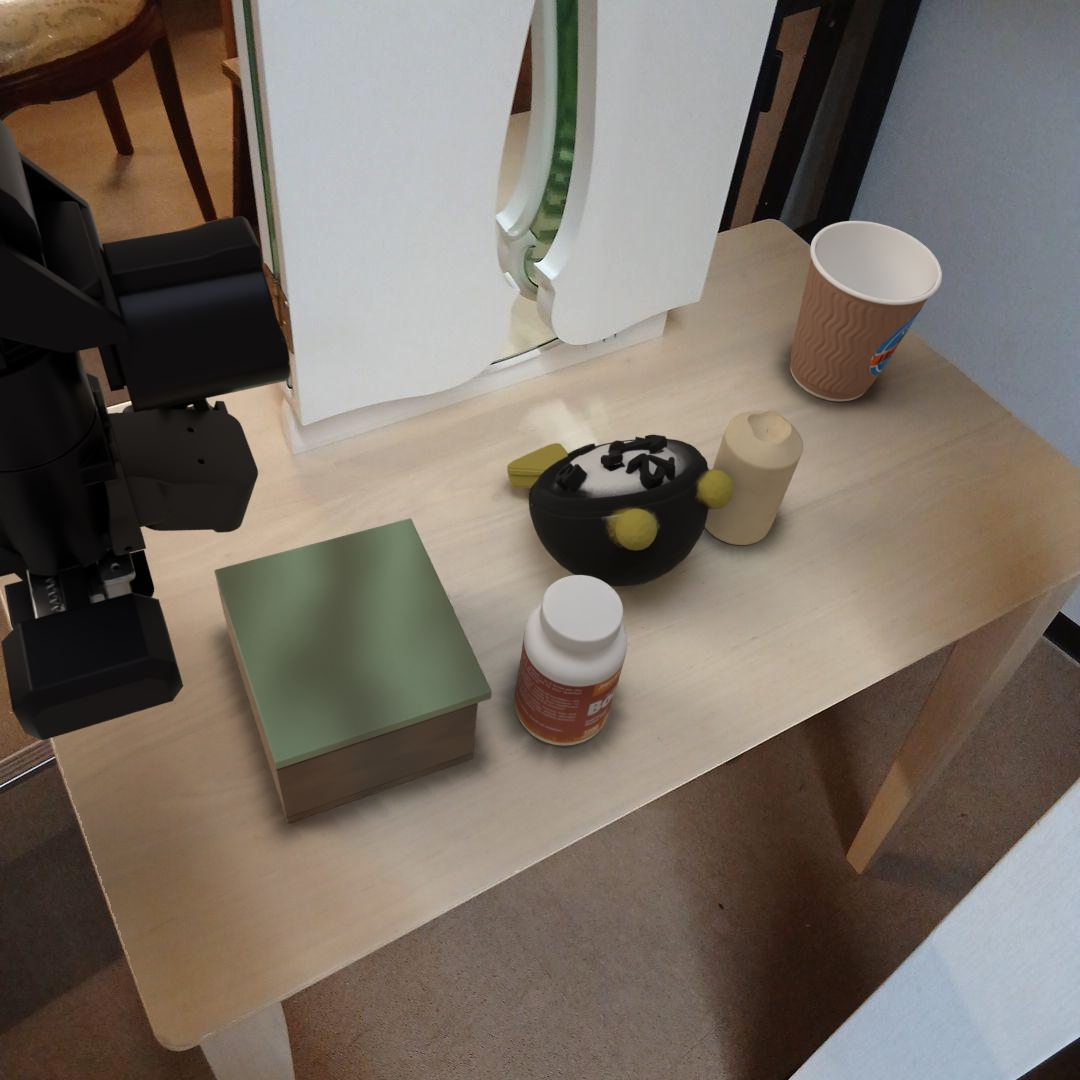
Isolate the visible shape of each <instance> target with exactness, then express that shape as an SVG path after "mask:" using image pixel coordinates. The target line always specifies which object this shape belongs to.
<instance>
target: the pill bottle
mask: <svg viewBox="0 0 1080 1080" xmlns="http://www.w3.org/2000/svg"><path fill="white" fill-rule="evenodd" d="M623 619H624V605H623V602H622V599H621V597H620V595H619V594H618V593H617V591H616V590H615V589H614V588H613V587H611V586H609V585H608V584H607V583H605V582H603V581H601V580H599V579H597V578H594V577H591V576H585V575H574V574H572V575H568V576H564V577H562V578H560V579H557V580H556V581H554V582H552V584H550V586H549V587H548V588H547V589H546V591H545V592H544V595H543V597H542V601H541V603H540V604H538V605H537V607H536V608H535V609H534V610H533V611H532V612H531V613H530V615H529V617H528V619H527V621H526V624H525V627H524V633H523V638H522V645H521V651H520V659H519V665H518V669H517V670H518V671H517V676H516V677H517V678H516V684H515V689H514V708H515V713H516V715H517V717H518V720H519V721H520V723H521V724H522V726H523V727H524V729H526V731H528V733H529V734H531V735H532V736H533V737H535V738H536V739H537V740H540V741H542V742H544V743H547V744H551V745H555V746H573V745H574V746H575V745H578V744H582V743H584V742H586V741H589V740H590V739H592V738H593V737H595V735H597V734H598V733H599V732H600V731H601V730H602V728H603V727H604V725H605V723H606V722H607V720H608V716H609V715H610V711H611V708H612V704H613V700H614V697H615V694H616V690H617V688H618V684H619V680H620V678H621V674H622V669H623V665H624V663H625V659H626V655H627V651H628V635H627V631H626V627H625V625H624V622H623Z"/></svg>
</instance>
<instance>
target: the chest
mask: <svg viewBox="0 0 1080 1080" xmlns="http://www.w3.org/2000/svg"><path fill="white" fill-rule="evenodd" d="M215 581H216V585H217V589H218V593H219V598H220V602H221V606H222V611H223V615H224V620H225V624H226V627H227V628H226V629H227V632H228V637H229V641H230V645H231V647H232V650H233V654H234V657H235V661H236V664H237V667H238V671H239V673H240V676H241V680H242V682H243V686H244V689H245V693H246V696H247V698H248V701H249V705H250V708H251V711H252V714H253V715H252V716H253V718H254V721H255V725H256V728H257V731H258V734H259V737H260V741H261V743H262V747H263V750H264V753H265V757H266V759H267V762H268V763H267V764H268V766H269V769H270V772H271V776H272V779H273V783H274V785H275V788H276V791H277V795H278V797H279V801H280V804H281V807H282V810H283V814H284V817H285V820H286V823H287V824H290V823H293V822H296V821H299V820H302V819H305V818H307V817H310V816H312V815H316V814H319V813H322V812H324V811H327V810H330V809H332V808H337V807H339V806H341V805H344V804H347V803H350V802H353V801H356V800H359V799H361V798H364V797H367V796H370V795H373V794H376V793H378V792H382V791H384V790H387V789H389V788H393V787H395V786H398V785H401V784H404V783H408V782H410V781H412V780H416V779H419V778H421V777H424V776H427V775H430V774H433V773H435V772H438V771H442V770H445V769H447V768H450V767H453V766H455V765H459V764H461V763H464V762H466V761H470V760H472V759H473V756H474V744H475V737H476V726H477V716H478V707H479V703H476V704H473V705H470V706H467V707H464V708H461V709H458V710H455V711H452V712H449V713H446V714H443V715H440V716H437V717H434V718H431V719H428V720H425V721H422V722H419V723H415V724H412V725H409V726H406V727H403V728H400V729H397V730H394V731H391V732H388V733H385V734H382V735H379V736H376V737H373V738H370V739H367V740H364V741H361V742H358V743H355V744H352V745H349V746H346V747H343V748H340V749H337V750H334V751H331V752H328V753H325V754H322V755H319V756H316V757H313V758H310V759H307V760H304V761H301V762H298V763H295V764H292V765H289V766H285V767H282V768H279V769H277V768H276V767H275V763H274V760H273V757H272V754H271V751H270V748H269V744H268V741H267V738H266V735H265V732H264V729H263V725H262V722H261V719H260V716H259V713H258V710H257V706H256V703H255V700H254V697H253V694H252V691H251V687H250V684H249V681H248V678H247V675H246V672H245V669H244V665H243V662H242V659H241V656H240V653H239V650H238V646H237V643H236V640H235V637H234V634H233V631H232V627H231V624H230V621H229V618H228V615H227V612H226V608H225V605H224V602H223V599H222V596H221V593H220V589H219V586H218V583H217V580H216V579H215Z"/></svg>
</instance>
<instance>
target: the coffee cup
mask: <svg viewBox="0 0 1080 1080" xmlns="http://www.w3.org/2000/svg"><path fill="white" fill-rule="evenodd" d="M809 250H810V262H809V266H808V270H807V276H806V280H805V285H804V291H803V295H802V298H801V304H800V309H799V313H798V318H797V323H796V327H795V331H794V337H793V341H792V345H791V350H790V364H789V370H790V372H791V375H792V378H793V380H794V381H795V382H796V383H797V384H798V386H799V387H801V389H803V390H804V391H805V392H807V393H809V394H810V395H812V396H814V397H817V398H819V399H822V400H825V401H831V402H849V401H854V400H856V399H859V398H861V396H863V395H864V394H865V393H866V392H867V390H868V389H869V387H871V386H872V385H874V383H875V381H876V380H877V378H878V376H879V375H880V374H881V373H882V371H883V370H884V368H885V366H886V365H887V363H888V362H889V360H890V359H891V357H892V355H893V354H894V352H895V351H896V349H897V348H898V346H899V345H900V343H901V341H902V340H903V339H904V337H905V336H906V334H907V332H908V331H909V329H910V328H911V326H912V325H913V323H914V321H915V320H916V318H917V317H918V315H919V314H920V313H921V311H922V309H923V308H924V305H925V304H926V303H927V300H928V299H929V298H930V297H932V296H933V295H934V294H935V293H936V292H937V291H938V290H939V288H940V286H941V284H942V279H943V273H942V267H941V265H940V262H939V260H938V259H937V257H936V255H935V254H934V253H933V252H932V251H931V250H930V248H929V247H927V246H926V245H925V244H923V243H922V242H921V241H920V240H919V239H917V238H916V237H914V236H912V235H910V234H909V233H906V232H905V231H903V230H900V229H898V228H895V227H893V226H889V225H887V224H883V223H878V222H872V221H866V220H847V221H846V220H845V221H840V222H835V223H832V224H830V225H827V226H825V227H823V228H822V229H821V230H819V231H818V232H817V233H816V234H815V236H814V237H813V239H812V240H811V244H810V249H809Z"/></svg>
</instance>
